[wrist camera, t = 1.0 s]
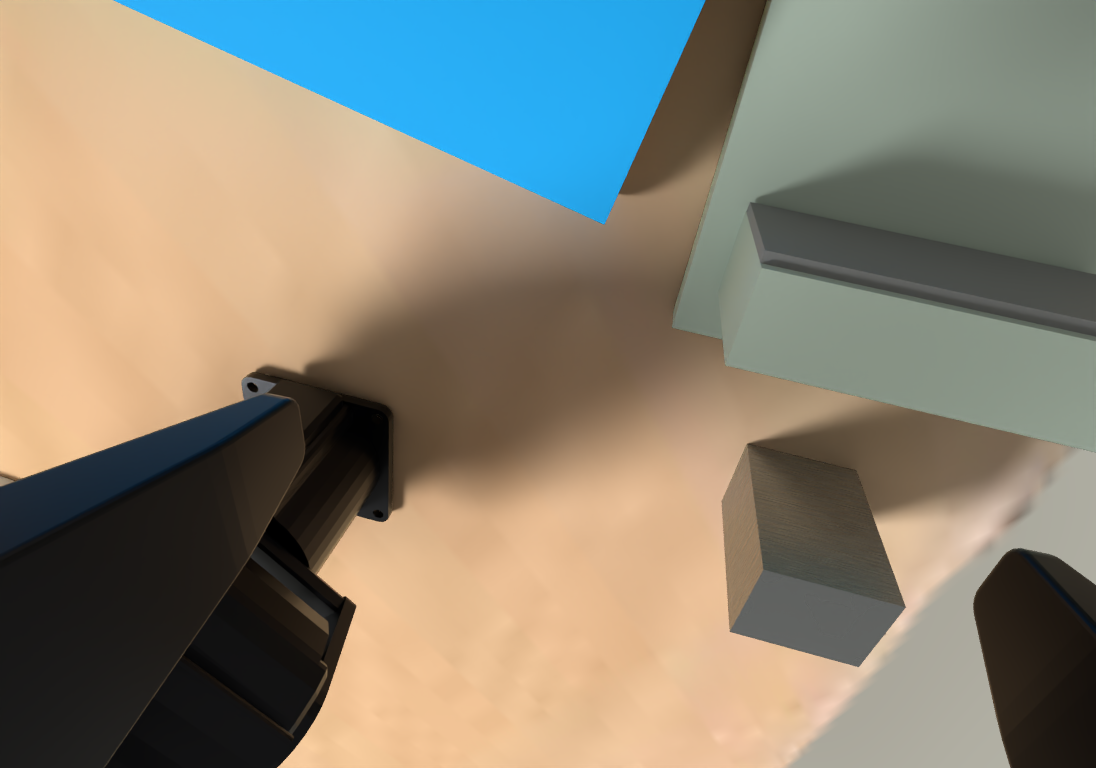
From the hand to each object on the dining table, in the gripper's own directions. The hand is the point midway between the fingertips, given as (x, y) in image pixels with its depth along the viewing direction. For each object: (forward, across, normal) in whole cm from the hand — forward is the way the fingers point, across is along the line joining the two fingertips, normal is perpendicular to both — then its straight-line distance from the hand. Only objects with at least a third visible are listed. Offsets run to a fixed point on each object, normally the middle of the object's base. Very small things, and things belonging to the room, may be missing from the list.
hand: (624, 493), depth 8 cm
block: (+13, -7, +9) cm, 17 cm away
